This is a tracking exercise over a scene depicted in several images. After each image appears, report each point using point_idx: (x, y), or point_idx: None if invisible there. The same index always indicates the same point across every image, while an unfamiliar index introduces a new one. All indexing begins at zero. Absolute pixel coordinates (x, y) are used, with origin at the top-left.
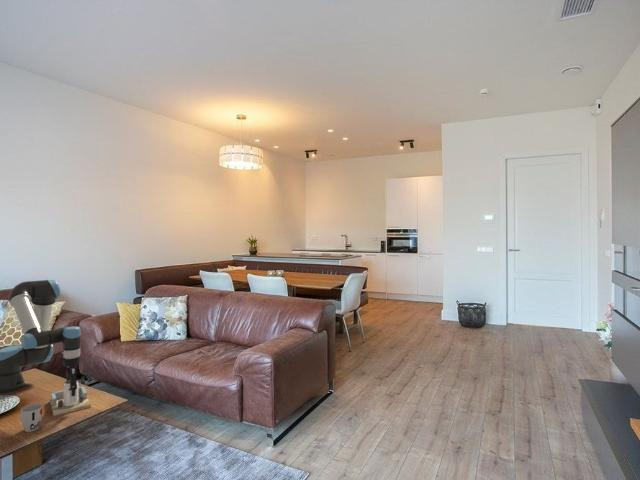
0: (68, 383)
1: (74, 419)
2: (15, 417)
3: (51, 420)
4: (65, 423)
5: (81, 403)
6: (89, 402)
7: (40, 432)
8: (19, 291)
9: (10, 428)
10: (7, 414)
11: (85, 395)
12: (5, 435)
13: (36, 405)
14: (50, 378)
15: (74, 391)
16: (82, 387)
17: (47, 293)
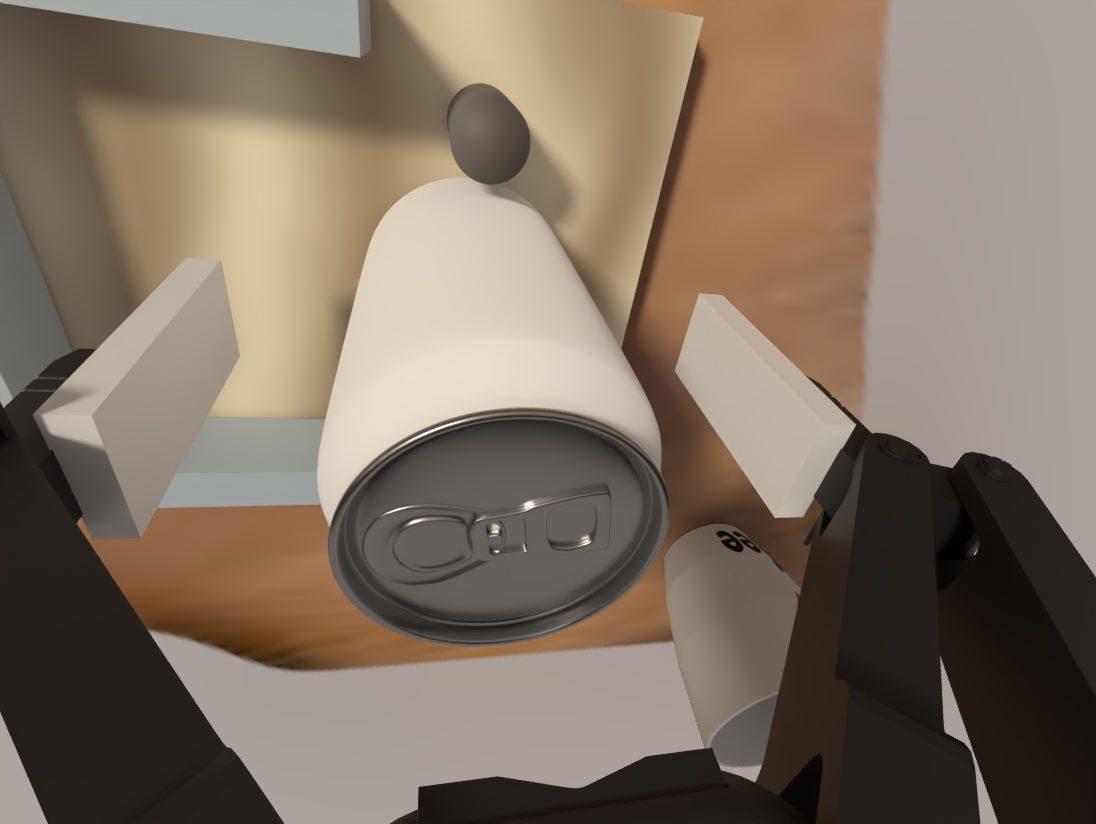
0: (619, 595)
1: (848, 295)
2: (387, 630)
3: (675, 452)
4: (847, 373)
5: (554, 140)
6: (612, 6)
7: (813, 515)
8: None
9: (577, 634)
10: (277, 668)
11: (365, 7)
12: (661, 642)
13: (733, 697)
14: None
15: (857, 434)
16: None
17: None
